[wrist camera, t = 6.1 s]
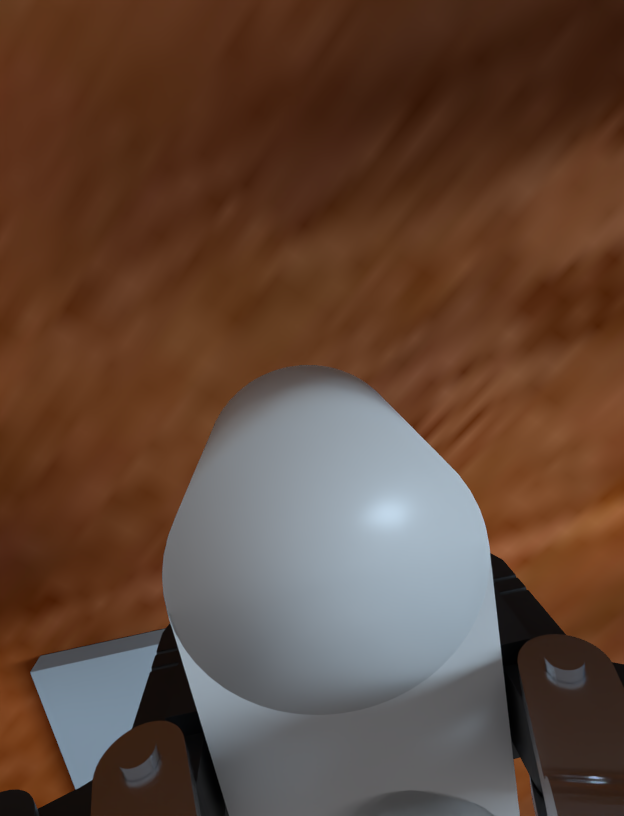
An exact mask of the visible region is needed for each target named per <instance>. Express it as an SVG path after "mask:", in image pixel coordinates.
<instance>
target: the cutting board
mask: <svg viewBox="0 0 624 816" xmlns="http://www.w3.org/2000/svg"><path fill="white" fill-rule="evenodd" d="M164 630H165V629H162V630H157V631H152V632H148V633H143V634H139V635H134V636H130V637H125V638H121V639H116V640H111V641H107V642H102V643H98V644H93V645H89V646H84V647H79V648H75V649H70V650H66V651H61V652H57V653H52V654H47V655H43V656H40V657H39V659H38V661H37V662H36V664H35V665H34V667H33V669H32V670H31V672H30V673H31V676H32V678H33V681H34V684H35V686H36V689H37V691H38V694H39V696H40V699H41V702H42V704H43V707H44V709H45V712H46V714H47V717H48V720H49V722H50V725H51V727H52V730H53V732H54V735H55V738H56V740H57V743H58V745H59V748H60V750H61V753H62V756H63V758H64V761H65V763H66V766H67V768H68V771H69V774H70V776H71V779H72V781H73V784H74V786H75V789H78V788H80V787H81V786H83V785H85V784H87V783H88V782H90V781H91V780H93V775H94V772H95V769H96V766H97V764H98V762H99V760H100V759H101V757H102V756H103V754H104V753H105V752H106V750H107V749H108V748H109V747H110V746H111V745H112V744H113V743H114V742H115V741H116V740H117V739H118V738H119V737H121V736H122V735H123V734H125V733H126V732H128V731H129V730H131V729H132V727H133V724H134V720H135V717H136V714H137V711H138V708H139V705H140V702H141V698H142V695H143V692H144V689H145V686H146V683H147V680H148V676H149V673H150V672H151V671H152V668H151V667H152V664H153V661H154V658H155V655H157V652H156V651H157V648H158V645H159V642H160V639H161V635H162V633H163V631H164Z"/></svg>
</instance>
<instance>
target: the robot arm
mask: <svg viewBox="0 0 624 816" xmlns="http://www.w3.org/2000/svg"><path fill="white" fill-rule="evenodd" d="M490 557H491V566H492V575H493V584H494V593H495V601H496V610H497V619H498V628H499V637H500V646H501V655H502V664H503V673H504V681H505V690H506V699H507V708H508V717H509V726H510V735H511V744H512V752H513V759H515V758H519V757H521V759H522V761H523V763H524V765H525V767H526V769H527V771H528V773H529V775H530V785H531V795H532V800H533V805H534V810H535V815H536V816H624V664H618V663H613V662H611V660H610V659H609V658H608V657H607V655H606V654H605V653H604V652H602V651H601V650H600V649H599V648H597V647H596V646H594V645H593V644H591V643H589V642H587V641H585V640H582V639H579V638H576V637H573V636H568V635H566V634H565V633H564V632H563V631H562V630H561V628H560V627H559V626H558V625H557V624H556V623H555V621H554V620H553V619H552V618H551V617H550V615H549V614H548V613H547V612H546V611H545V609H544V608H543V607H542V606H541V605H540V603H539V602H538V601H537V600H536V599H535V598H534V596H533V595H532V594H531V593H530V592H529V590H526V587H525V586H524V584H523V583H522V582H521V581H520V580H519V579H518V578H516V576H515V574H514V573H513V571H512V570H511V569H510V568H509V567H508V565H507V564H506V563H505V562H504V561H503V560H502V559H500V558H498V557H496V556H494V555H493V554H491V553H490ZM156 652H157V655H155V658H154V661H153V664H152V667H151V668H152V671H151V672H150V673H149V676H148V680H147V683H146V686H145V689H144V692H143V695H142V698H141V702H140V705H139V708H138V711H137V714H136V717H135V720H134V724H133V727H132V729H131V730H129V731H128V732H126V733H125V734H123V735H122V736H121V737H119V738H118V739H117V740H116V741H115V742H114V743H113V744H112V745H111V746H110V747H109V748H108V749H107V750H106V752H105V753H104V754H103V756H102V757H101V759H100V760H99V762H98V764H97V766H96V769H95V772H94V775H93V780H91V781H90V782H88V783H87V784H85V785H83V786H81V787H80V788H78V789H76V790H74V791H72V792H70V793H68V794H66V795H64V796H62V797H60V798H58V799H56V800H54V801H52V802H50V803H48V804H46V805H45V806H43V807H41V808H39V809H37V807H36V805H35V803H34V800H33V798H32V797H31V795H30V794H29V793H27V792H25V791H22V790H8V791H3V792H0V816H229V814H228V811H227V807H226V804H225V801H224V798H223V794H222V791H221V788H220V784H219V781H218V778H217V774H216V771H215V768H214V765H213V761H212V758H211V755H210V751H209V748H208V745H207V741H206V738H205V735H204V732H203V728H202V725H201V722H200V718H199V715H198V712H197V709H196V705H195V702H194V699H193V695H192V692H191V689H190V685H189V682H188V679H187V676H186V672H185V669H184V666H183V662H182V659H181V656H180V652H179V649H178V646H177V643H176V639H175V636H174V633H173V629H172V626H171V623H170V624H169V625H168V626H167V628H166V629H165V630H164V631H163V633H162V635H161V639H160V642H159V645H158V648H157V651H156Z"/></svg>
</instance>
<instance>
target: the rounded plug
mask: <svg viewBox="0 0 624 816" xmlns="http://www.w3.org/2000/svg"><path fill="white" fill-rule="evenodd" d="M162 580H163V594H164V599H165V604H166V608H167V613H168V616H169V620H170V623H171V626H172V629H173V633H174V636H175V639H176V643H177V646H178V649H179V652H180V656H181V659H182V662H183V666H184V669H185V672H186V676H187V679H188V682H189V685H190V689H191V692H192V695H193V699H194V702H195V705H196V709H197V712H198V715H199V718H200V722H201V725H202V728H203V732H204V735H205V738H206V741H207V745H208V748H209V751H210V755H211V758H212V761H213V765H214V768H215V771H216V774H217V778H218V781H219V784H220V788H221V791H222V794H223V798H224V801H225V804H226V807H227V811H228V814H229V816H520V815H519V806H518V797H517V788H516V779H515V770H514V761H513V752H512V744H511V735H510V726H509V717H508V708H507V699H506V690H505V681H504V673H503V664H502V655H501V646H500V637H499V628H498V619H497V610H496V601H495V593H494V584H493V575H492V566H491V557H490V548H489V542H488V536H487V531H486V526H485V523H484V520H483V517H482V514H481V511H480V508H479V506H478V505H477V503H476V501H475V499H474V497H473V495H472V493H471V491H470V490H469V488H468V487H467V485H466V484H465V483H464V481H463V480H462V479H461V477H460V476H459V475H458V473H457V472H456V471H455V470H454V469H453V468H452V467H451V466H450V465H449V464H448V463H447V462H446V461H445V460H444V459H443V458H442V457H441V456H440V455H439V454H438V453H437V452H436V451H435V450H434V449H433V448H432V447H431V446H430V445H429V444H428V443H427V442H426V441H425V440H424V439H423V438H422V437H421V436H420V435H419V434H418V433H417V432H416V431H415V430H414V429H413V428H412V427H411V426H410V425H409V424H408V423H407V422H406V421H405V420H404V419H403V418H402V417H401V416H400V415H399V414H398V413H397V412H396V411H395V410H394V409H393V408H392V407H391V406H390V405H389V404H388V403H387V402H386V401H385V400H384V399H383V398H382V397H381V396H380V395H379V394H378V393H377V391H376V390H374V389H373V388H372V387H371V386H369V385H368V384H367V383H365V382H364V381H362V380H361V379H359V378H357V377H355V376H354V375H351V374H349V373H346V372H344V371H342V370H338V369H334V368H330V367H325V366H317V365H299V366H291V367H286V368H282V369H278V370H275V371H272V372H270V373H267V374H265V375H262V376H261V377H259V378H257V379H255V380H254V381H252V382H250V383H249V384H247V385H246V386H245V387H244V388H242V389H241V390H240V391H239V392H238V393H237V394H236V395H235V396H234V397H233V398H232V399H231V400H230V401H229V402H228V403H227V405H226V406H225V407H224V409H223V410H222V411H221V413H220V415H219V417H218V419H217V420H216V422H215V424H214V427H213V429H212V432H211V434H210V436H209V439H208V441H207V443H206V446H205V448H204V451H203V453H202V455H201V458H200V460H199V462H198V465H197V467H196V470H195V472H194V474H193V477H192V479H191V482H190V484H189V486H188V489H187V491H186V493H185V496H184V498H183V501H182V503H181V505H180V508H179V510H178V512H177V515H176V517H175V520H174V522H173V525H172V528H171V530H170V533H169V535H168V539H167V544H166V548H165V552H164V559H163V571H162Z"/></svg>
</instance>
